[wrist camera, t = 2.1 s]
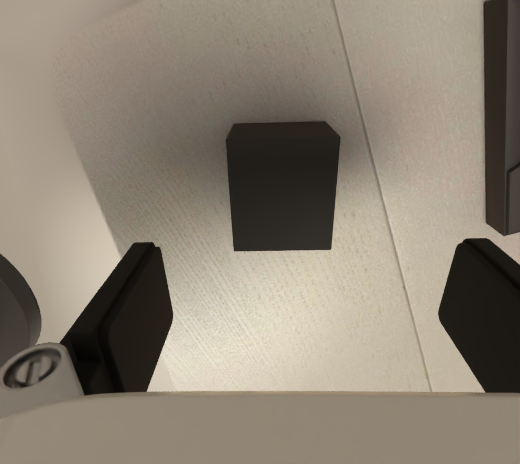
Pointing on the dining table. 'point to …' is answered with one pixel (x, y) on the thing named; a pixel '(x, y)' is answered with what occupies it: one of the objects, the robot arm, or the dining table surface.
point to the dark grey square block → (282, 185)
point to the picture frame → (502, 114)
